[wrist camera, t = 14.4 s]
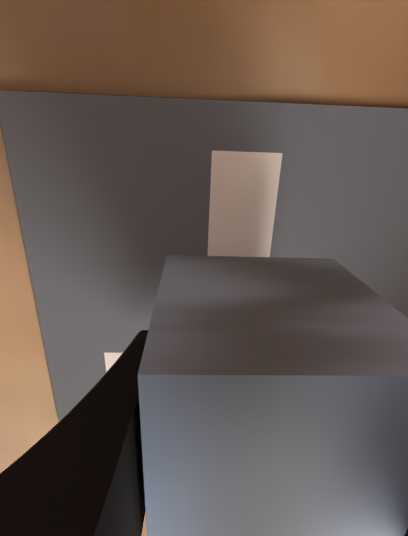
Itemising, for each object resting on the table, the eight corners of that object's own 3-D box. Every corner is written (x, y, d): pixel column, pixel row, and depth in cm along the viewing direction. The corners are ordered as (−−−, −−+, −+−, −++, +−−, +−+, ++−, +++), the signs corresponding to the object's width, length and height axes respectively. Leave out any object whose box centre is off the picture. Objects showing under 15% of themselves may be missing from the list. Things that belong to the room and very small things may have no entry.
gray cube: (333, 258, 9) (480, 376, 4) (306, 387, 11) (389, 565, 6) (166, 254, 9) (138, 374, 4) (168, 387, 11) (148, 571, 6)
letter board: (486, 112, 10) (491, 112, 10) (380, 419, 15) (382, 423, 15) (-3, 91, 9) (-7, 89, 9) (60, 420, 15) (59, 423, 14)
